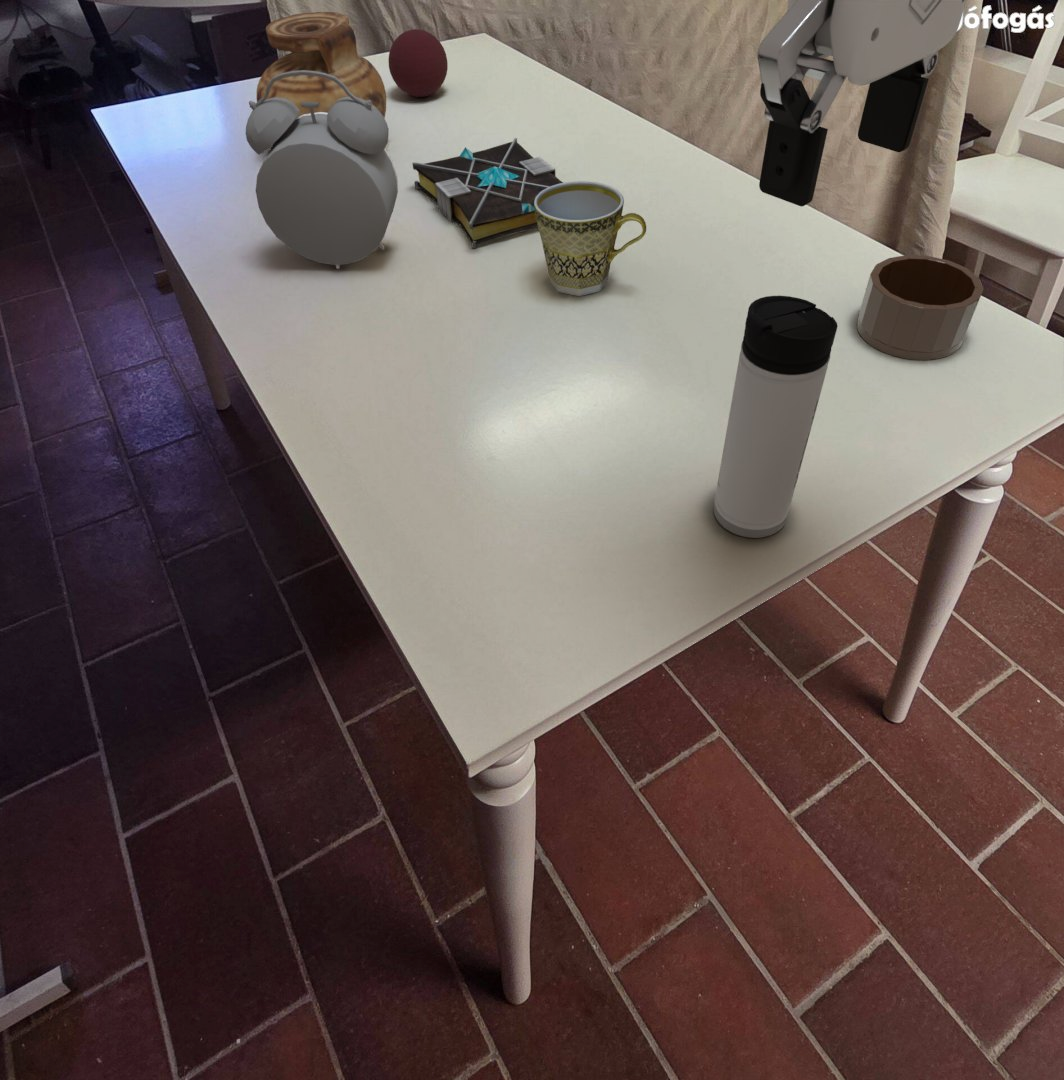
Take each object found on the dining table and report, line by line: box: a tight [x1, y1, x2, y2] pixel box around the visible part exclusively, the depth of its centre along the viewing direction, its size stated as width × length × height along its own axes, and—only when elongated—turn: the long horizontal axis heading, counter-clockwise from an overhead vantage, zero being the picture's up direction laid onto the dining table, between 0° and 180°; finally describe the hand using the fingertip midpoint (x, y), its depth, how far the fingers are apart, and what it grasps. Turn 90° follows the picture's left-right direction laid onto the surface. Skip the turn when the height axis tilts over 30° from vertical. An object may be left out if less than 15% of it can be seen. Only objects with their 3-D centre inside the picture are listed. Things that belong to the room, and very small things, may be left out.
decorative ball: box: [388, 28, 449, 98], centre depth 140 cm, size 10×10×10 cm
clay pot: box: [256, 11, 387, 120], centre depth 123 cm, size 19×19×20 cm
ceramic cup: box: [534, 180, 647, 297], centre depth 95 cm, size 13×10×10 cm
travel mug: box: [712, 295, 838, 539], centre depth 64 cm, size 6×7×20 cm
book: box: [412, 137, 564, 249], centre depth 112 cm, size 22×17×5 cm
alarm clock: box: [245, 70, 399, 270], centre depth 97 cm, size 16×9×22 cm, turn 85°
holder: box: [856, 254, 985, 361], centre depth 87 cm, size 11×11×6 cm
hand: (835, 170), depth 48 cm, fingers open, 9 cm apart
